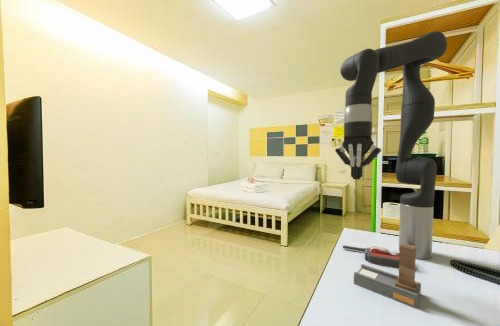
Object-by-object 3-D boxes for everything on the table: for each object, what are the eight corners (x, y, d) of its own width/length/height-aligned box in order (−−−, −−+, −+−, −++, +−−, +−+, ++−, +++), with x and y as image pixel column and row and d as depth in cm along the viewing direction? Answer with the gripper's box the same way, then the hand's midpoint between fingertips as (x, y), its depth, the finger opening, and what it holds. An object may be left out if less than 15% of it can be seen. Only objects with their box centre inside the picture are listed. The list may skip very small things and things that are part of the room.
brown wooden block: (398, 280, 56) (399, 241, 56) (417, 286, 53) (419, 246, 53) (394, 286, 53) (396, 246, 53) (415, 294, 51) (416, 251, 50)
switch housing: (362, 273, 64) (362, 263, 64) (420, 293, 54) (421, 282, 54) (353, 283, 59) (353, 273, 58) (416, 308, 49) (416, 296, 49)
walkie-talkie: (407, 259, 73) (342, 249, 81) (408, 246, 73) (342, 237, 81) (415, 272, 65) (342, 259, 73) (416, 258, 65) (342, 246, 73)
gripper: (386, 120, 64) (384, 180, 65) (340, 124, 73) (339, 176, 74) (379, 117, 58) (377, 182, 59) (330, 122, 68) (329, 178, 68)
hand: (356, 179), depth 66 cm, fingers closed
